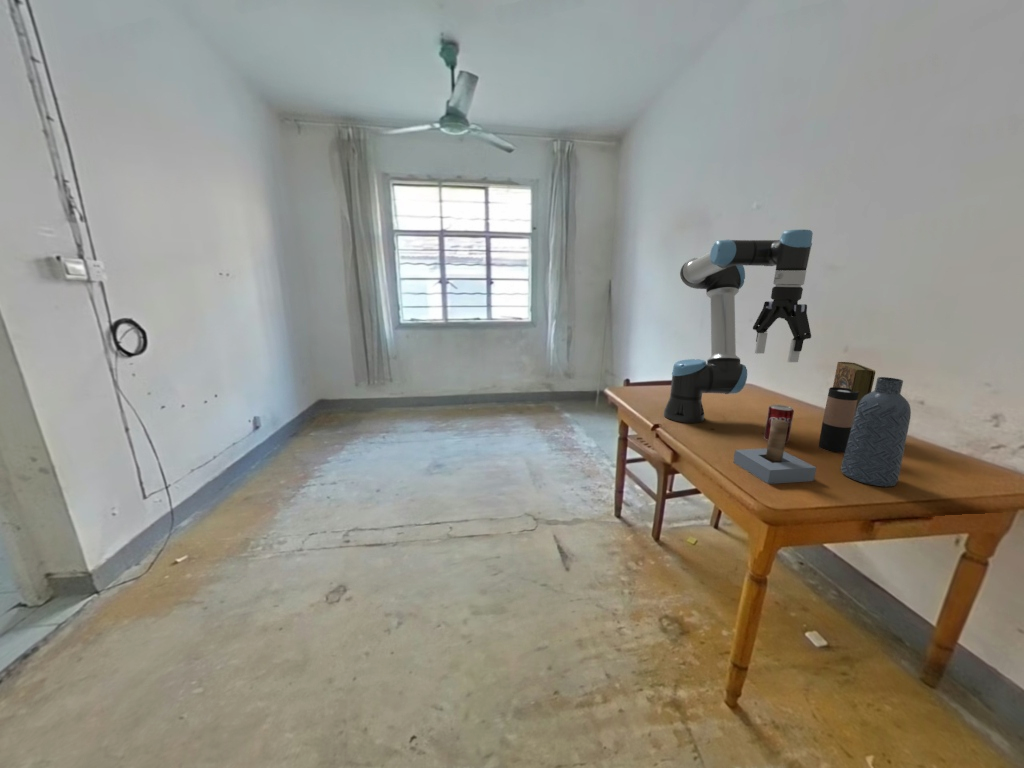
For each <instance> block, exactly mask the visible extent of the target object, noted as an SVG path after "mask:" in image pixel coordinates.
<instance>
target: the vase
mask: <svg viewBox="0 0 1024 768" xmlns="http://www.w3.org/2000/svg"><path fill="white" fill-rule="evenodd" d="M903 384H904V380H903V379H900V378H895V377H885V376H883V377H882V376H881V377H880V376H879V377H878V376H877V379H876V382H875V387H874V390H873V391H871V392H870V393H868V394H867V395H865V396H864V397H863V398H862V399H861V400H860V401H859V403H858V405H857V408H856V411H855V415H854V419H853V423H852V427H851V431H850V434H849V438H848V442H847V446H846V450H845V452H844V453H843V458H842V461H841V467H840V470H841V471H840V472H841V473H842V474H843V475H844V476H845V477H847V478H849V479H851V480H853V481H856V482H858V483H863V484H866V485H870V486H876V487H886V488H888V487H894V486H896V485H897V484H898V482H899V479H900V473H901V469H902V462H903V459H904V458H903V457H904V453H905V449H906V448H905V447H906V442H907V437H908V432H909V428H910V427H909V426H910V422H911V417H912V416H911V415H912V412H911V411H912V409H911V405H910V403H909V401H908V400H907V399H906V398H905V396H903V395H902V394H901V393H902V390H903V389H902V388H903Z"/></svg>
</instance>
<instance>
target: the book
mask: <svg viewBox="0 0 1024 768" xmlns="http://www.w3.org/2000/svg"><path fill="white" fill-rule="evenodd" d="M875 376H876V370H874V369H872V368H870V367H866V366H864V365H861V364H859V363H855V362H850V361H849V362H848V361H838V362H837V365H836V369H835V373H834V380H833V385H832V387H840V388H848V389H851V390H852V391H854V392H858V391H859V395H858V399H857V405H858V403H859V401H860V400H861V399H862V398H863V397H864V396H865V395H867V394H868V393H870V392H873V391H872V390H873V387H874V380H875ZM857 405H856V408H857ZM855 411H856V410H855Z"/></svg>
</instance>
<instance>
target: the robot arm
mask: <svg viewBox="0 0 1024 768" xmlns="http://www.w3.org/2000/svg"><path fill="white" fill-rule="evenodd" d="M812 239H813V231H812V230H811V229H802V228H801V229H789V230H784V231H783V232H782V233H781V237H780V239H775V240H772V239H771V240H770V239H767V240H765V239H760V240H758V239H756V240H755V239H754V240H753V239H750V240H748V239H747V240H746V239H742V240H741V239H740V240H738V239H737V240H736V239H724V240H717V241H714V243H713V244H712V247H711V249H710V251H709V252H707V253H705V254H703V255H702V256H700V257H694V258H691V259H689V260H687V261H686V262H684V263H683V265H682V266H681V267H680V270H679V271H680V272H679V275H680V279H681V281H682V283H683V284H685V285H686V286H688V287H689V288H690V289H691V288H693V289H695V290H696V289H697V290H706V297H708V298H710V343H711V345H710V346H711V350H710V351H711V352H710V353H711V355H710V357H709V358H708V359H707V360H704V359H699V358H698V359H697V358H696V359H694V358H690V359H689V358H688V359H682V360H678V361H676V362H675V363H674V365H673V368H672V373H671V375H672V376H671V384H670V385H671V386H670V395H669V398H668V402H667V403H666V405H665V407H664V410H663V416H664V418H666V419H668V420H670V419H671V421H674V422H677V423H678V422H679V423H685V424H686V423H688V424H697V423H698V424H699V423H701V422H703V421H705V410H704V406H703V402H702V397H703V394H725V395H729V394H735V395H736V394H738V393H740V392H742V391H743V389H744V387H745V385H746V383H747V379H748V369H747V367H746V365H744V364H742V363H741V358H740V357H739V356H738V355H736V354H737V353H736V352H737V351H736V311H735V310H736V307H735V306H736V302H735V298H736V297H735V296H736V295H738V293H739V292H740V289H741V288H743V285H744V283H745V279H746V270H745V267H744V266H757V267H759V266H761V267H762V266H764V267H774V266H775V272H774V273H775V274H774V279H773V285H774V286H773V287H772V289H771V294H770V295H771V296H770V299H772V300H773V301H768V300H767V301H764V302H763V307H762V310H761V312H760V313H759V315H758V317H757V319H756V321H755V322H754V324H753V326H752V330H754V331H756V338H755V342H756V343H755V349H754V354H757V355H758V354H765V351H766V345H767V339H768V330H769V329H770V328H771V326H772V325H773V324H774V323H775V322H776V321H777V319H783V320H785V321H786V322H787V324H788V327H789V329H790V333H791V334H792V336H793V338H792V339H791V341H790V347H789V350H788V357H787V363H798V362H799V358H800V354H801V352H802V350H803V345H804V341H805V340H808V339H809V340H810V339H811V338H812V334H811V333H812V332H811V328H810V323H809V319H808V313H807V312H808V305H807V304H806V303H805V304H802V303H801V304H800V303H799V304H798V302H799V301H801V299H802V296H803V290H804V288H803V287H802V286H804V285H805V282H806V281H805V280H806V276H807V275H806V274H807V268H808V263H809V259H810V253H811V249H812V245H813V243H812Z"/></svg>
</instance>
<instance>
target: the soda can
mask: <svg viewBox="0 0 1024 768" xmlns="http://www.w3.org/2000/svg"><path fill="white" fill-rule="evenodd" d="M767 409H768V410H767V415H766V422H765V428H764V434H763V438H764V440H765V441H767V442H768V440H769V434H770V428H771V422H772V420H774V419H777V420H784V421H787V422H788V423H789V424H788V430H787V435H786V441H785V444H787V443H789V440H790V436H791V430H792V423H793V419H794V418H793V417H794V413H795V412H794V411H795V410H794V408H793V407H791V406H788V405H782V404H771V405H769V406H768V408H767Z"/></svg>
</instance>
